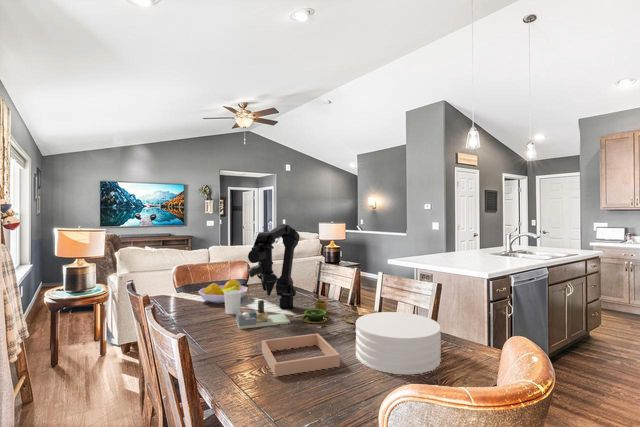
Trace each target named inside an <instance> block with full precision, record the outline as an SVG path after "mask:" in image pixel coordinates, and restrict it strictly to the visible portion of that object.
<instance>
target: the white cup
mask: <svg viewBox="0 0 640 427" xmlns="http://www.w3.org/2000/svg"><path fill="white" fill-rule="evenodd" d="M224 297H225V303H224V308H225V314H226V315H236V309H240V310H241V300H242V297H241V291H236V290H233V291H226V292H224Z"/></svg>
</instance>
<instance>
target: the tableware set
mask: <svg viewBox="0 0 640 427" xmlns="http://www.w3.org/2000/svg"><path fill="white" fill-rule="evenodd" d="M314 303H315V304H314V305H315V308H311V309H307V310H305V311H304V312H303V314H297V315H293V319H296V318H300V317H301V316H302V317H301V321H303V322H304V323H306V324H310V323H312V325H315V324H316V325H318V324H317V323H321V324H324V322H325V323H327V322H328V321H330V316H329V315H327V307H328V306H327V305H328V301H327V300H315V302H314ZM364 315H365V314H349V315H348V314H347V315H346V316H344V317H343V320H344V321H345V322H346V323H347V322H348V324H350V323H353V324H352V325H356V323H355V322H350V321H347V320H346V319H347V318H348V317H352V316H364ZM323 317H324V318H327V320H325V319H323ZM324 320H325V321H324ZM322 326H323V325H321V326H317V327H316V329H317V328H320V329H322V328H321V327H322Z"/></svg>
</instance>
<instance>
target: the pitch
mask: <svg viewBox="0 0 640 427" xmlns="http://www.w3.org/2000/svg"><path fill="white" fill-rule="evenodd" d="M246 312H247V311H246ZM243 313H244V312H242V311H241V308H240V309H236V314H235V322H236V324H237V327H238V329H239V330H241V329H242V330H243V329H250V328H251V329H252V328H261V327H262V328H263V327H270V326H278V325H279V324H280V325H286V324H287V325H288V323H289V324H291V320H290V319H289V318H288V317H287V316H286V315H285V314H284V313H279V314H268V321H260V322H256V318H251V311H248V312H247V313H249V314H250V318H247V319H243V315H242V314H243Z"/></svg>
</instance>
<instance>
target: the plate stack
mask: <svg viewBox="0 0 640 427" xmlns="http://www.w3.org/2000/svg"><path fill="white" fill-rule="evenodd" d="M363 315H364V316H361V317H359V318H358V319H357V320H356V324H355V333H356V335H355V337H356V339H355V358H356V360H357V359H358V360H359V361H360V362H361V363H362V364H364V365H366V366H368V367H370V368H372V369H376V370H379V371H383V372H388V373H393V374H418V373H423V372H427V371H430V370H433V369H435V368H436V367H438V366H439V364H440V362H442V359H441V356H442V354H441V353H442V351H441V348H442V345H441V339H442V336H441V332H442V330H441V328H442V327H441V325H440V324H439V323H438V322H437V321H436V320H434V319H432V318H429V317H427V316H424V315H419V314H414V313H410V312H409V313H408V312H401V311H399V312H398V311H383V312H382V311H381V312H373V313H367V314H363ZM358 360H357V361H358ZM359 361H358V362H359ZM360 362H359V363H360ZM361 363H360V364H361ZM362 364H361V365H362ZM364 365H363V366H364ZM440 365H441V364H440ZM439 367H440V366H439ZM439 367H438V368H439ZM372 369H371V370H372Z"/></svg>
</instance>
